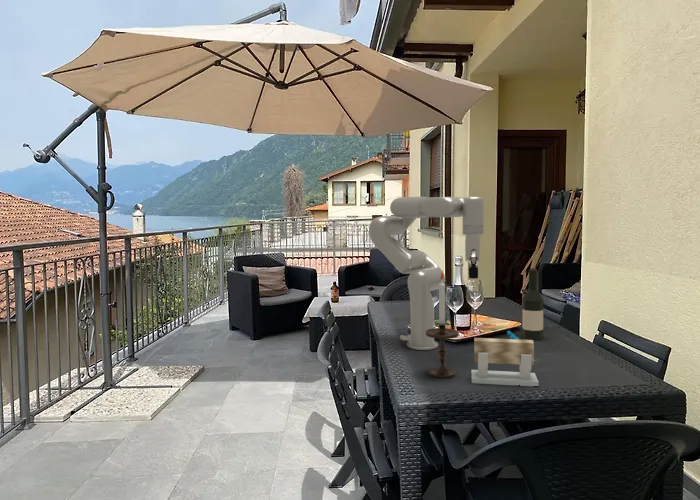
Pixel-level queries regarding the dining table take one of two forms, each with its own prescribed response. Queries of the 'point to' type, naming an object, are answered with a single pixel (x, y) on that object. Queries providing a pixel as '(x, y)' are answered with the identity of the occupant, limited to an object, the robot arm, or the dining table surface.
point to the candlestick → (442, 337)
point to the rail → (503, 350)
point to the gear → (512, 335)
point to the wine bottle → (532, 310)
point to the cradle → (504, 373)
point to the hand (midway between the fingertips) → (473, 276)
